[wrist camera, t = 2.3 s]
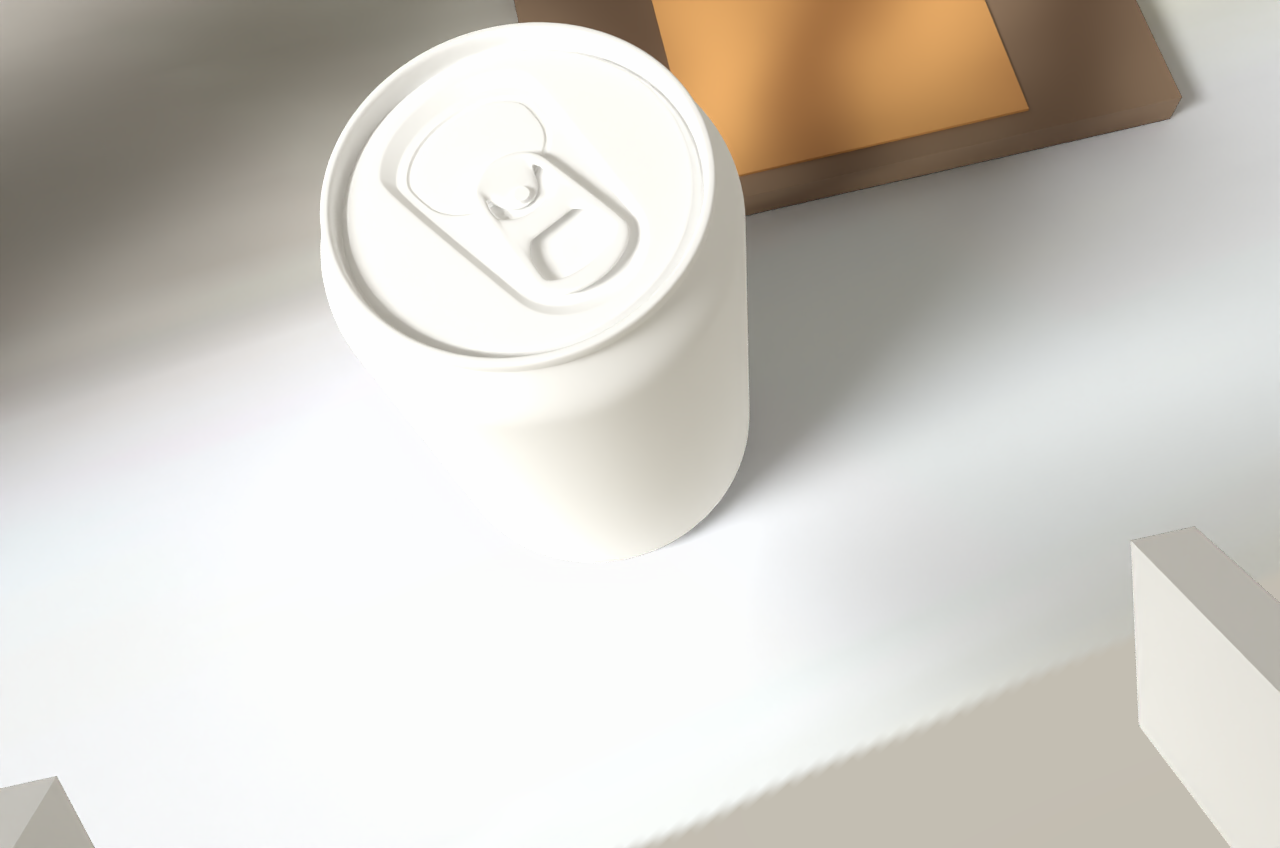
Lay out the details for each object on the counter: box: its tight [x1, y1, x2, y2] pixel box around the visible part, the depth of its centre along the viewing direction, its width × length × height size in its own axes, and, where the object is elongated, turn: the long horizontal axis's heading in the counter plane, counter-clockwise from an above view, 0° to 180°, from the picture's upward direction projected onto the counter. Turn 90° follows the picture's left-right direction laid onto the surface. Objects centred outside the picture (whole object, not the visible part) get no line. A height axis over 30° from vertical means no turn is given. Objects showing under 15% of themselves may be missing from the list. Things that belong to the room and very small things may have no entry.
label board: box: [514, 0, 1182, 216], centre depth 34 cm, size 18×11×1 cm, turn 102°
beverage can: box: [320, 22, 750, 563], centre depth 25 cm, size 8×8×12 cm
